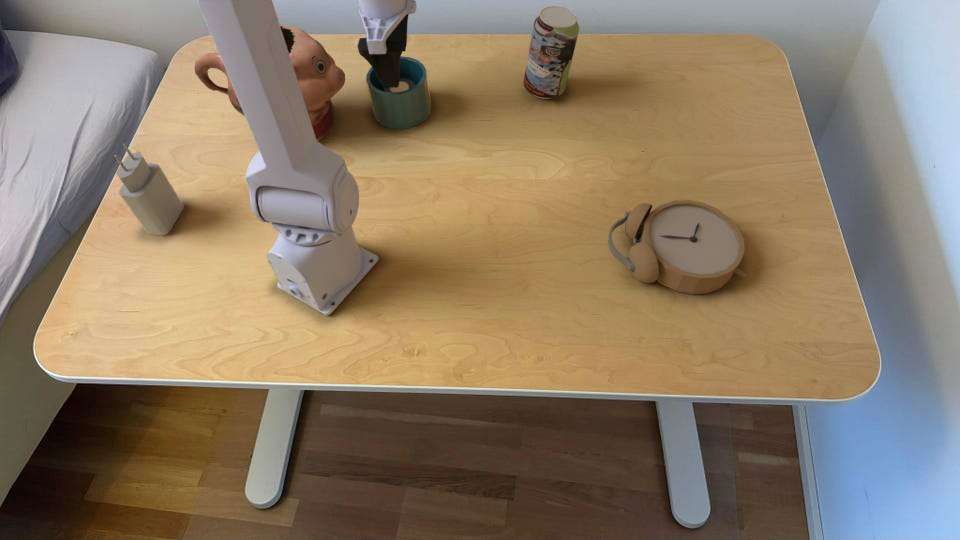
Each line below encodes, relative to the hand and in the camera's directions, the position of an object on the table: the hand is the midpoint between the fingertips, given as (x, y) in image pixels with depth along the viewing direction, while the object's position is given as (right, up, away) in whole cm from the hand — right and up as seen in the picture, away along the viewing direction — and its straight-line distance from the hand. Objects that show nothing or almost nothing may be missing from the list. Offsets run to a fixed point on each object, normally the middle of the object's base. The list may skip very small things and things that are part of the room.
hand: (394, 67), depth 89 cm
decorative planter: (-16, -7, +5) cm, 18 cm away
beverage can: (+21, -1, +7) cm, 23 cm away
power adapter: (-29, -21, -4) cm, 36 cm away
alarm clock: (+34, -26, -12) cm, 44 cm away
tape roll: (+1, -4, +5) cm, 7 cm away
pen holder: (0, -4, +6) cm, 7 cm away
